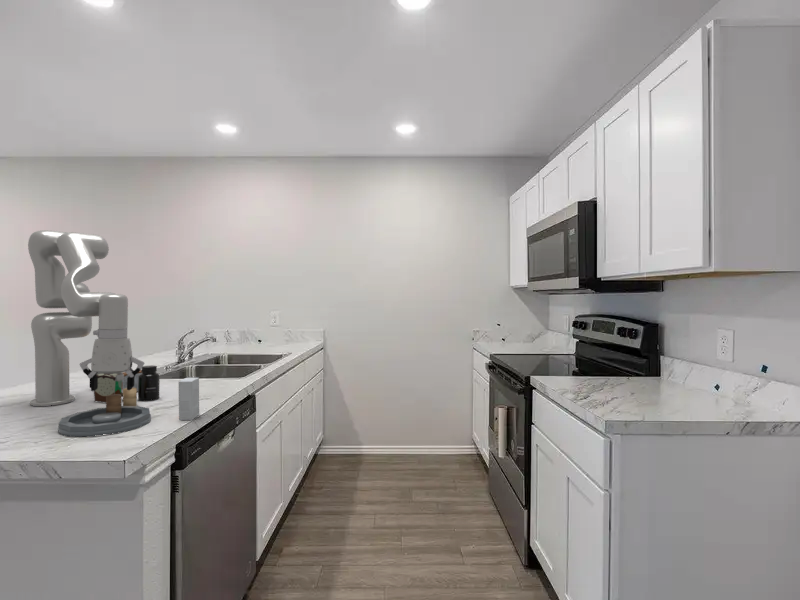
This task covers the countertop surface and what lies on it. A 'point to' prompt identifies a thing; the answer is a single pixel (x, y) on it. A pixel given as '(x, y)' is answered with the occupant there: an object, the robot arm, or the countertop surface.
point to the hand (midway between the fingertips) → (112, 389)
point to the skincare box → (188, 398)
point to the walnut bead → (113, 403)
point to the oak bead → (130, 397)
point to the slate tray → (92, 429)
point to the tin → (124, 381)
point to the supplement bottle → (148, 384)
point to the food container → (108, 385)
